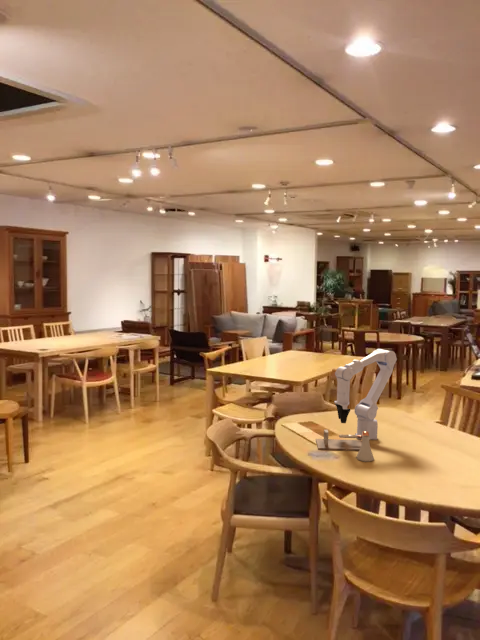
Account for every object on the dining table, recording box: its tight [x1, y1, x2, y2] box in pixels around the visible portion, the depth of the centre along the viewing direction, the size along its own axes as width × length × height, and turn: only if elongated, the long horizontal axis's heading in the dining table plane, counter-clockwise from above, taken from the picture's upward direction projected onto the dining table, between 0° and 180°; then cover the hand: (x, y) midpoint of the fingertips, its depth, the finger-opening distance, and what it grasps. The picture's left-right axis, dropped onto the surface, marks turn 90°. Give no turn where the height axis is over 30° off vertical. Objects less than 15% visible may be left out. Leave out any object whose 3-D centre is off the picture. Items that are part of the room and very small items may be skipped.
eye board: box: [315, 429, 362, 452], centre depth 265 cm, size 22×14×7 cm, turn 87°
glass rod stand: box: [338, 431, 369, 441], centre depth 265 cm, size 13×5×5 cm, turn 87°
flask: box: [355, 435, 375, 462], centre depth 247 cm, size 7×7×10 cm
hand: (342, 420), depth 273 cm, fingers open, 7 cm apart
